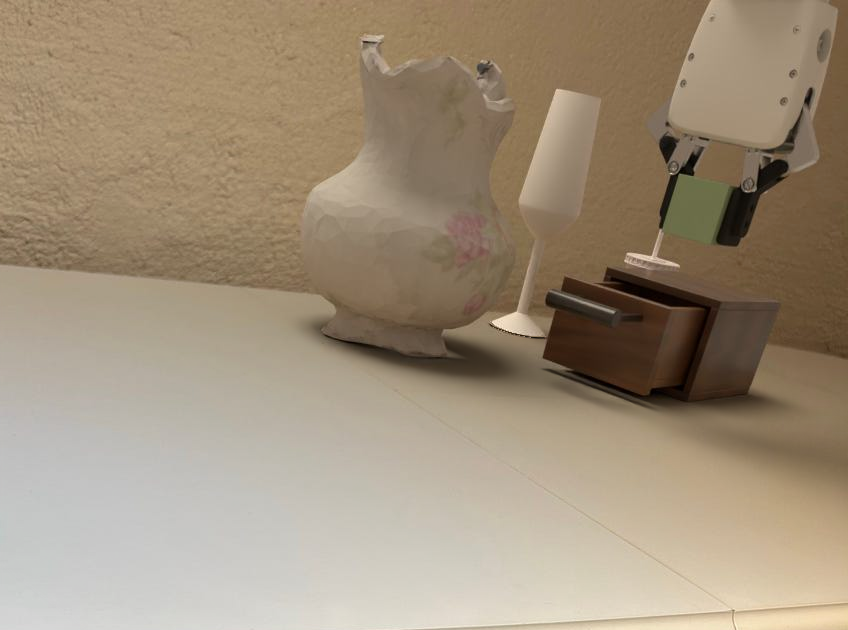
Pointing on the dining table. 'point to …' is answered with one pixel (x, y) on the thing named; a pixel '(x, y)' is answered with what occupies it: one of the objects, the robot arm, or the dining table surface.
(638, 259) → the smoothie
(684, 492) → the dining table surface
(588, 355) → the drawer
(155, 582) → the dining table surface
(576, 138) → the champagne flute
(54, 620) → the dining table surface
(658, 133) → the robot arm
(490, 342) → the dining table surface
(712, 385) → the cabinet
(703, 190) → the block
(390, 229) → the ceramic pitcher
